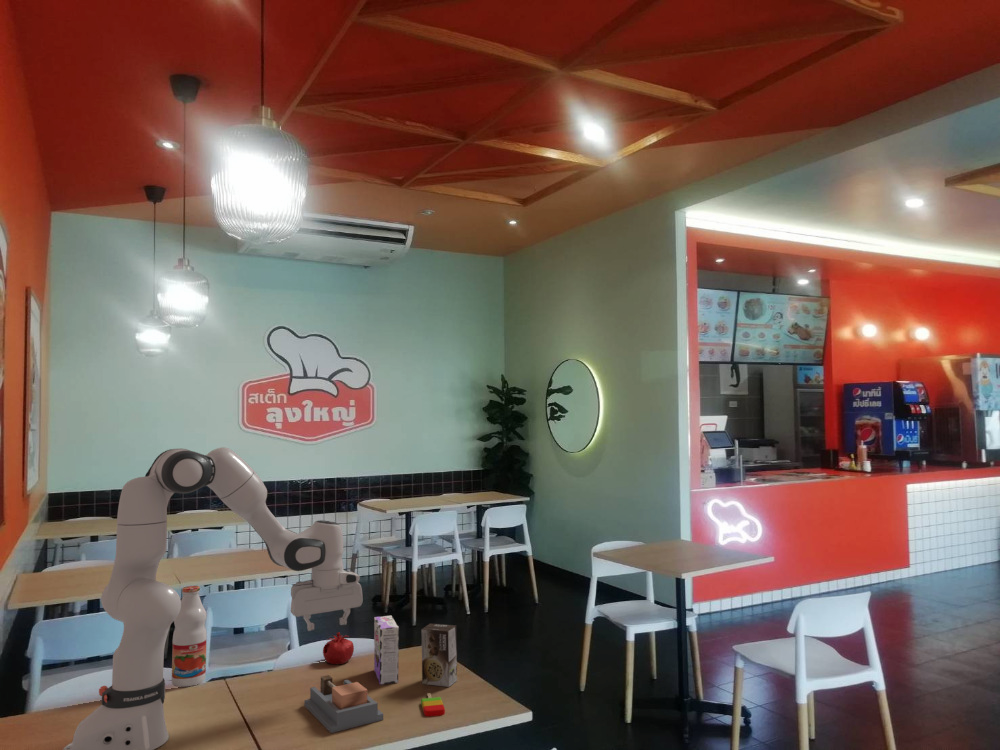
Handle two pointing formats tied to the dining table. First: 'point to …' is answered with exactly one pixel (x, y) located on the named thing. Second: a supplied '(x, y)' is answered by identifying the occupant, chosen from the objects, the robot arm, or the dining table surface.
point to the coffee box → (439, 655)
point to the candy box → (386, 649)
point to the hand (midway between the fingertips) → (327, 627)
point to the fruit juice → (189, 640)
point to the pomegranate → (338, 650)
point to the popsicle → (432, 706)
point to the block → (344, 693)
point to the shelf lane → (341, 711)
